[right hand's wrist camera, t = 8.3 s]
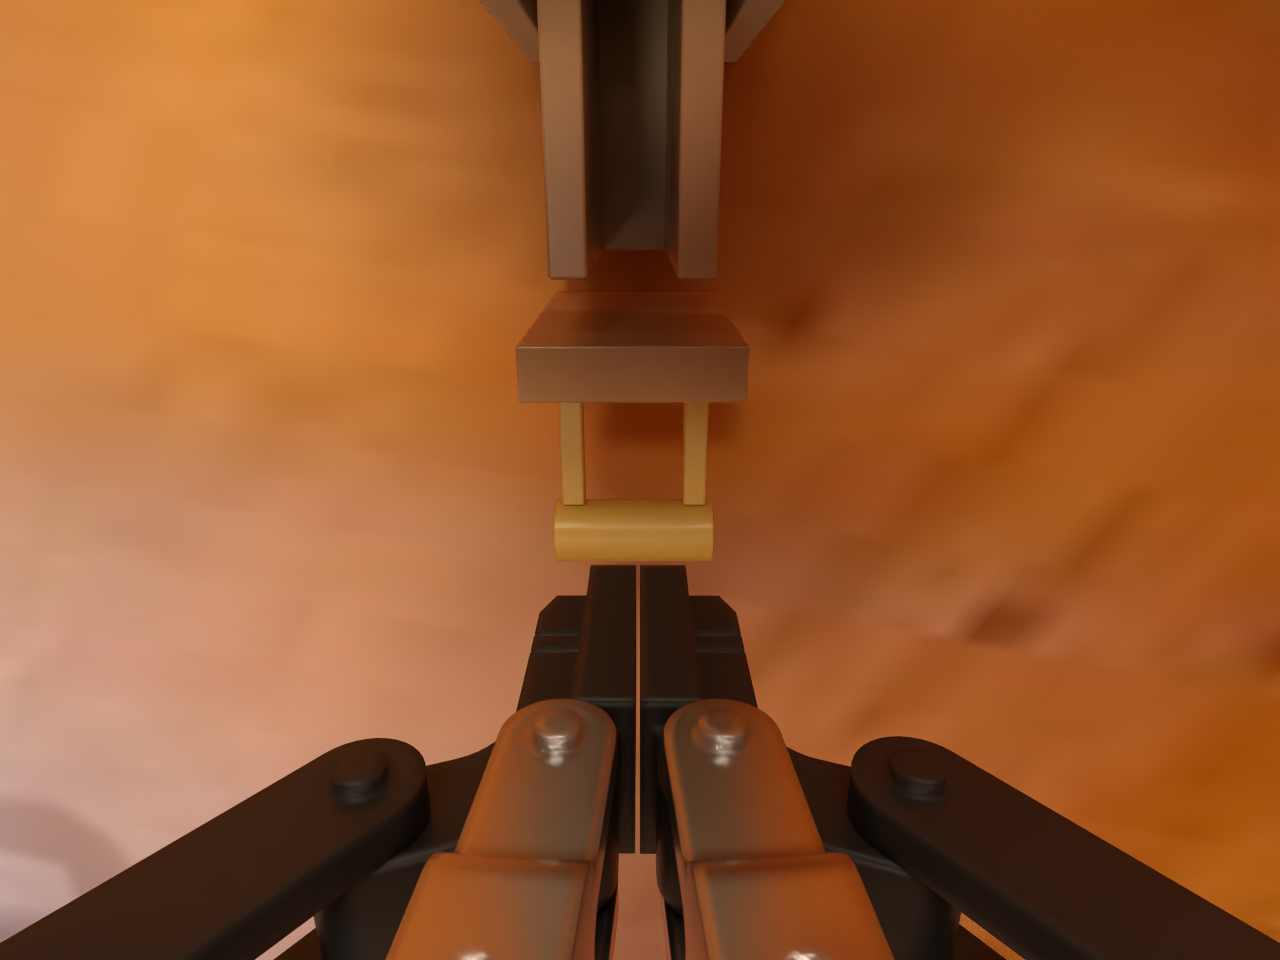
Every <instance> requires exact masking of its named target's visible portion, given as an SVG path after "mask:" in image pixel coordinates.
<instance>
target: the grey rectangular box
mask: <svg viewBox="0 0 1280 960" xmlns="http://www.w3.org/2000/svg"><path fill="white" fill-rule="evenodd" d="M479 1H480V2H481V3H482V5H483V6H484V7H485V8H486V9H487V11H488V12H489V13H490V14H491V15H492V16H493V18H494V19H495V20H496V21H497V22H498V23H499V25H500V26H501V27H502V28H503V29H504V30H505V32H506V33H507V34H508V35H509V36H510V37H511V39H512V40H513V41H514V42H515V43H516V44H517V46H518V47H519V48H520V49H521V50H522V51H523V53H524V54H525V55H526V56H527V57H528V59H529V60H530V61H531V62H539V39H538V14H537V0H479ZM784 2H785V0H726V21H725V50H724V62H736V61H737V60H738V58H739V57H740V56H741V55H742V54H743V52H744V51H745V50H746V49H747V47H748V46H749V45H750V44H751V43H752V41H753V40H754V39H755V38H756V36H757V35H758V34H759V33H760V31H761V30H762V29H763V28H764V26H765V25H766V24H767V23H768V21H769V20H770V19H771V18H772V16H773V15H774V14H775V13H776V12H777V10H778V9H779V8H780V7H781V5H782V4H783V3H784Z"/></svg>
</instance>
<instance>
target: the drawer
mask: <svg viewBox="0 0 1280 960" xmlns="http://www.w3.org/2000/svg"><path fill="white" fill-rule="evenodd" d="M537 14H538V39H539V64H540V88H541V113H542V137H543V162H544V186H545V211H546V235H547V260H548V276H549V278H550V279H586V278H587V277H588V275H589V273H590V271H591V269H592V268H593V266H594V264H595V262H596V260H597V258H598V256H599V254H600V253H601V251H602V250H666V252H667V254H668V256H669V259H670V261H671V263H672V265H673V268H674V270H675V272H676V274H677V277H678V278H679V279H715V278H716V276H717V255H718V226H719V196H720V167H721V138H722V108H723V79H724V50H725V21H726V0H537ZM516 361H517V379H518V396H519V402H521V403H558V408H559V434H560V460H561V486H562V500H557V501H556V504H555V511H554V552H555V558H556V561H711V560H712V557H713V549H714V516H713V506H712V502H711V500H710V499H706V471H707V440H708V409H709V402H746V401H747V387H748V367H749V346H748V344H747V343H746V342H745V340H744V339H743V337H742V336H741V334H740V333H739V331H738V330H737V329H736V327H735V326H734V324H733V323H732V321H731V320H730V319H729V317H728V316H727V314H726V313H725V311H724V310H723V308H722V307H721V306H720V304H719V303H718V301H717V300H716V298H715V297H714V296H713V294H712V293H711V292H710V291H558V292H557V293H556V294H555V295H554V297H553V298H552V299H551V301H550V302H549V303H548V305H547V306H546V307H545V309H544V310H543V311H542V313H541V314H540V315H539V317H538V318H537V319H536V321H535V322H534V324H533V325H532V326H531V328H530V329H529V330H528V332H527V333H526V334H525V336H524V337H523V338H522V340H521V341H520V342H519V344H518V345H517V346H516ZM604 402H684V420H683V468H682V499H601V500H585V498H586V484H585V446H584V409H583V403H604Z"/></svg>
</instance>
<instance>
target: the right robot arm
mask: <svg viewBox="0 0 1280 960" xmlns="http://www.w3.org/2000/svg"><path fill="white" fill-rule="evenodd" d="M635 775H636V565H591V568H590V575H589V583H588V590H587V596H556V597H555V598H554V599H553V600H552V601H551V602H550V603H549V604H548V605H547V606H546V607H545V608H544V609H543V610H542V611H541V612H540V614H539V618H538V622H537V627H536V631H535V636H534V639H533V643H532V648H531V653H530V656H529V660H528V665H527V669H526V673H525V677H524V681H523V686H522V690H521V694H520V698H519V703H518V707H517V711H516V713H514V714H513V715H512V716H511V717H510V718H508V719H507V721H506V722H505V723H504V724H503V726H502V728H501V730H500V732H499V734H498V737H497V739H496V741H495V742H494V743H492V744H491V745H489V746H488V747H486V748H484V749H482V750H480V751H478V752H476V753H473V754H471V755H468V756H465V757H462V758H458V759H454V760H450V761H446V762H441V763H437V764H433V765H428V766H426V765H425V761H424V758H423V756H422V755H421V754H420V752H419V751H418V750H417V749H415V748H414V747H413V746H411V745H409V744H407V743H405V742H402V741H399V740H395V739H388V738H373V739H364V740H359V741H354V742H351V743H347V744H344V745H342V746H339V747H337V748H334V749H332V750H331V751H329V752H327V753H325V754H323V755H321V756H320V757H318V758H316V759H314V760H313V761H311V762H309V763H308V764H306V765H304V766H302V767H301V768H299V769H297V770H296V771H294V772H292V773H291V774H289V775H287V776H285V777H284V778H282V779H280V780H279V781H277V782H275V783H273V784H272V785H270V786H268V787H267V788H265V789H263V790H261V791H260V792H258V793H256V794H255V795H253V796H251V797H249V798H248V799H246V800H244V801H243V802H241V803H239V804H237V805H236V806H234V807H232V808H231V809H229V810H227V811H225V812H224V813H222V814H220V815H219V816H217V817H215V818H214V819H212V820H210V821H208V822H207V823H205V824H203V825H202V826H200V827H198V828H196V829H195V830H193V831H191V832H190V833H188V834H186V835H184V836H183V837H181V838H179V839H178V840H176V841H174V842H172V843H171V844H169V845H167V846H166V847H164V848H162V849H160V850H159V851H157V852H155V853H154V854H152V855H150V856H148V857H147V858H145V859H143V860H142V861H140V862H138V863H137V864H135V865H133V866H131V867H130V868H128V869H126V870H125V871H123V872H121V873H119V874H118V875H116V876H114V877H113V878H111V879H109V880H107V881H106V882H104V883H102V884H101V885H99V886H97V887H95V888H94V889H92V890H90V891H89V892H87V893H85V894H83V895H82V896H80V897H78V898H77V899H75V900H73V901H71V902H70V903H68V904H66V905H65V906H63V907H61V908H60V909H58V910H56V911H54V912H53V913H51V914H49V915H48V916H46V917H44V918H42V919H41V920H39V921H37V922H36V923H34V924H32V925H30V926H29V927H27V928H25V929H24V930H22V931H20V932H18V933H17V934H15V935H13V936H12V937H10V938H8V939H6V940H5V941H3V942H1V943H0V960H255V959H256V958H258V957H259V956H260V955H262V954H263V953H264V952H266V951H267V950H268V949H270V948H271V947H272V946H274V945H275V944H276V943H278V942H279V941H280V940H282V939H283V938H284V937H286V936H287V935H288V934H290V933H291V932H292V931H294V930H295V929H297V928H298V927H299V926H301V925H302V924H303V923H305V922H306V921H307V920H309V919H310V918H311V917H313V916H314V921H315V926H316V928H315V929H314V930H312V931H311V932H310V933H308V934H307V935H306V936H304V937H303V938H302V939H300V940H299V941H298V942H296V943H295V944H294V945H292V946H291V947H290V948H288V949H287V950H286V951H285V952H283V953H282V954H281V955H279V956H278V957H277V958H275V959H274V960H613V955H614V946H615V937H616V929H617V920H618V864H619V853H635ZM640 854H656V877H657V884H658V887H659V890H660V893H661V895H662V920H663V929H664V937H665V946H666V955H667V960H1006V959H1005V958H1003V957H1002V956H1001V955H999V954H998V953H997V952H995V951H994V950H993V949H991V948H990V947H989V946H988V945H986V944H985V943H984V942H982V941H981V940H980V939H978V938H977V937H976V936H974V935H973V934H972V933H970V932H969V931H968V930H966V929H965V928H964V927H962V926H961V925H960V924H959V921H960V916H961V912H962V913H963V914H965V915H966V916H967V917H969V918H970V919H971V920H973V921H974V922H975V923H977V924H978V925H979V926H981V927H982V928H983V929H985V930H986V931H987V932H989V933H990V934H992V935H993V936H994V937H996V938H997V939H998V940H1000V941H1001V942H1002V943H1004V944H1005V945H1006V946H1008V947H1009V948H1010V949H1012V950H1013V951H1014V952H1016V953H1017V954H1018V955H1020V956H1021V957H1022V958H1024V959H1025V960H1280V943H1279V942H1277V941H1275V940H1274V939H1272V938H1270V937H1268V936H1267V935H1265V934H1263V933H1262V932H1260V931H1258V930H1256V929H1255V928H1253V927H1251V926H1250V925H1248V924H1246V923H1244V922H1243V921H1241V920H1239V919H1238V918H1236V917H1234V916H1232V915H1231V914H1229V913H1227V912H1226V911H1224V910H1222V909H1220V908H1219V907H1217V906H1215V905H1214V904H1212V903H1210V902H1208V901H1207V900H1205V899H1203V898H1202V897H1200V896H1198V895H1197V894H1195V893H1193V892H1191V891H1190V890H1188V889H1186V888H1185V887H1183V886H1181V885H1179V884H1178V883H1176V882H1174V881H1173V880H1171V879H1169V878H1167V877H1166V876H1164V875H1162V874H1161V873H1159V872H1157V871H1155V870H1154V869H1152V868H1150V867H1149V866H1147V865H1145V864H1143V863H1142V862H1140V861H1138V860H1137V859H1135V858H1133V857H1131V856H1130V855H1128V854H1126V853H1125V852H1123V851H1121V850H1120V849H1118V848H1116V847H1114V846H1113V845H1111V844H1109V843H1108V842H1106V841H1104V840H1102V839H1101V838H1099V837H1097V836H1096V835H1094V834H1092V833H1090V832H1089V831H1087V830H1085V829H1084V828H1082V827H1080V826H1078V825H1077V824H1075V823H1073V822H1072V821H1070V820H1068V819H1066V818H1065V817H1063V816H1061V815H1060V814H1058V813H1056V812H1054V811H1053V810H1051V809H1049V808H1048V807H1046V806H1044V805H1043V804H1041V803H1039V802H1037V801H1036V800H1034V799H1032V798H1031V797H1029V796H1027V795H1025V794H1024V793H1022V792H1020V791H1019V790H1017V789H1015V788H1013V787H1012V786H1010V785H1008V784H1007V783H1005V782H1003V781H1001V780H1000V779H998V778H996V777H995V776H993V775H991V774H989V773H988V772H986V771H984V770H983V769H981V768H979V767H977V766H976V765H974V764H972V763H971V762H969V761H967V760H966V759H964V758H962V757H960V756H959V755H957V754H955V753H954V752H952V751H950V750H948V749H946V748H944V747H942V746H940V745H937V744H935V743H932V742H929V741H925V740H922V739H917V738H911V737H901V736H896V737H884V738H879V739H876V740H873V741H870V742H868V743H866V744H865V745H863V746H862V747H861V748H860V749H858V751H857V752H856V753H855V755H854V757H853V760H852V764H851V767H849V766H845V765H840V764H836V763H832V762H828V761H823V760H819V759H815V758H812V757H808V756H805V755H803V754H800V753H798V752H796V751H794V750H792V749H790V748H788V747H786V745H785V742H784V739H783V737H782V734H781V732H780V730H779V728H778V726H777V724H776V723H775V722H774V721H773V719H772V718H770V717H769V716H768V715H767V714H766V713H764V712H763V711H761V710H760V709H758V707H757V703H756V698H755V694H754V689H753V685H752V681H751V676H750V672H749V667H748V663H747V659H746V654H745V653H744V645H743V641H742V637H741V632H740V628H739V623H738V619H737V615H736V612H735V611H734V610H733V609H732V608H731V607H730V606H729V605H728V604H727V603H726V602H725V601H724V600H723V599H722V598H721V597H720V596H689V592H688V584H687V576H686V568H685V565H640Z"/></svg>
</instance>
